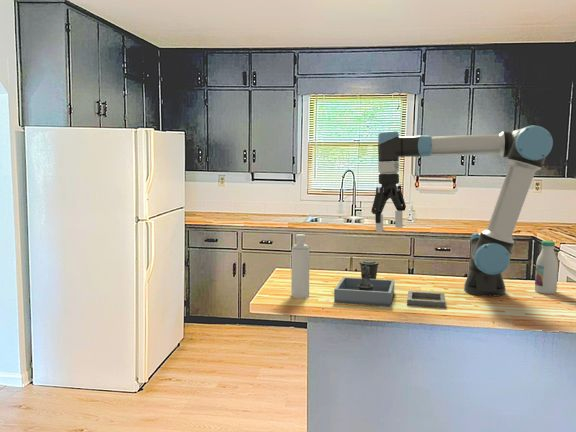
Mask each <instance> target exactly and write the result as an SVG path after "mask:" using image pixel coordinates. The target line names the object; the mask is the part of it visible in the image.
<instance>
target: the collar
mask: <svg viewBox="0 0 576 432" xmlns="http://www.w3.org/2000/svg"><path fill="white" fill-rule="evenodd" d="M445 295H446V294H445V293H444V292H431V291H430V292H427V291H414V290H408V291H407V298H406V299H407V300H406V306H409V307H410V306H411V307H423V306H424V307H425V308H427V307H428V308H437V307H439V308H442V309H446V297H445ZM416 298H417V299H416ZM429 299H431V300H429ZM432 299H433V300H432ZM439 308H438V309H439Z"/></svg>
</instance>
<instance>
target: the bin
mask: <svg viewBox="0 0 576 432" xmlns="http://www.w3.org/2000/svg"><path fill="white" fill-rule="evenodd" d="M361 282H362V277H345V276H344V277H343V276H342V278H341V279H340V280H339V282H338V284H337V285H336V286H335V288H334V290H333V291H334V295H333V297H334V299H333V301H334V302H333V303H334V304H345V305H347V304H348V305H359V306H371V307H372V306H374V307H388V308H392V307H391V306H392V303H393V299H394V296H395V279H377V278H376V279H370V284H371V285H373V286H374V287H373V289H372V291H364V290H359V287H358V285H359V284H361Z"/></svg>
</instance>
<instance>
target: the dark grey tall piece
mask: <svg viewBox="0 0 576 432" xmlns="http://www.w3.org/2000/svg"><path fill="white" fill-rule="evenodd" d="M360 276H362V277H361V278H362V282H361V284H359V285H358V287H359V290H364V291H372V289H373V287H374V286H373V285H371V284H370V276H371V275H370V268H369V267H368V266H367V264H365V266H363V267H362V275H361V274H360Z"/></svg>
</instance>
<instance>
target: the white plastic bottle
mask: <svg viewBox="0 0 576 432" xmlns="http://www.w3.org/2000/svg"><path fill="white" fill-rule="evenodd" d="M295 241H296V242H295V244H293V245H292V246H291V297H292V298H295V299H307V298H309V297H310V246H309V244H306V243H305V241H306V234H304V233H303V234H302V233H297V234H295Z"/></svg>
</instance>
